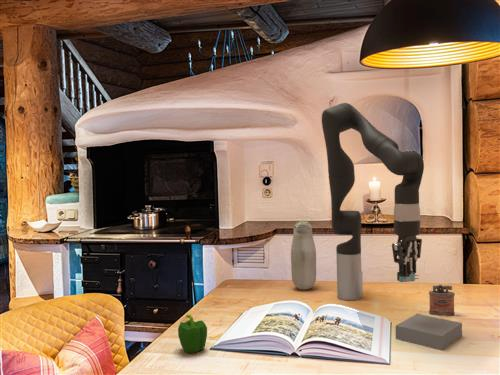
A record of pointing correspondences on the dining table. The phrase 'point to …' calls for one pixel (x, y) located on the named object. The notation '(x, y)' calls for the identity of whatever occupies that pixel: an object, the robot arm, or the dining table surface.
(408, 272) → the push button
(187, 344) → the bell pepper
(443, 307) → the lighter
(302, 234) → the grey bottle
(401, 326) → the slate stand
